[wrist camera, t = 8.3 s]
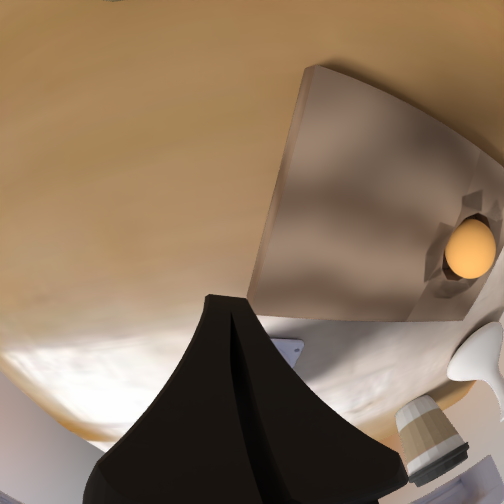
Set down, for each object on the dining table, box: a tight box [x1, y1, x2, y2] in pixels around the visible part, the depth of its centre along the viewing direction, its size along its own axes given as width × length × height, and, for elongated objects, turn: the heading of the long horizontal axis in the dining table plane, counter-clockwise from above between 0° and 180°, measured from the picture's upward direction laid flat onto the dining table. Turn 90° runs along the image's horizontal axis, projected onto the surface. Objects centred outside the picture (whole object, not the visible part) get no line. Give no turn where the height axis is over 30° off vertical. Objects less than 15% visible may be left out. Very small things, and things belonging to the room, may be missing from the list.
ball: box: [445, 219, 496, 279], centre depth 18 cm, size 5×5×5 cm
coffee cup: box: [395, 395, 469, 487], centre depth 31 cm, size 11×11×15 cm
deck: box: [247, 65, 504, 322], centre depth 19 cm, size 16×24×2 cm, turn 78°
